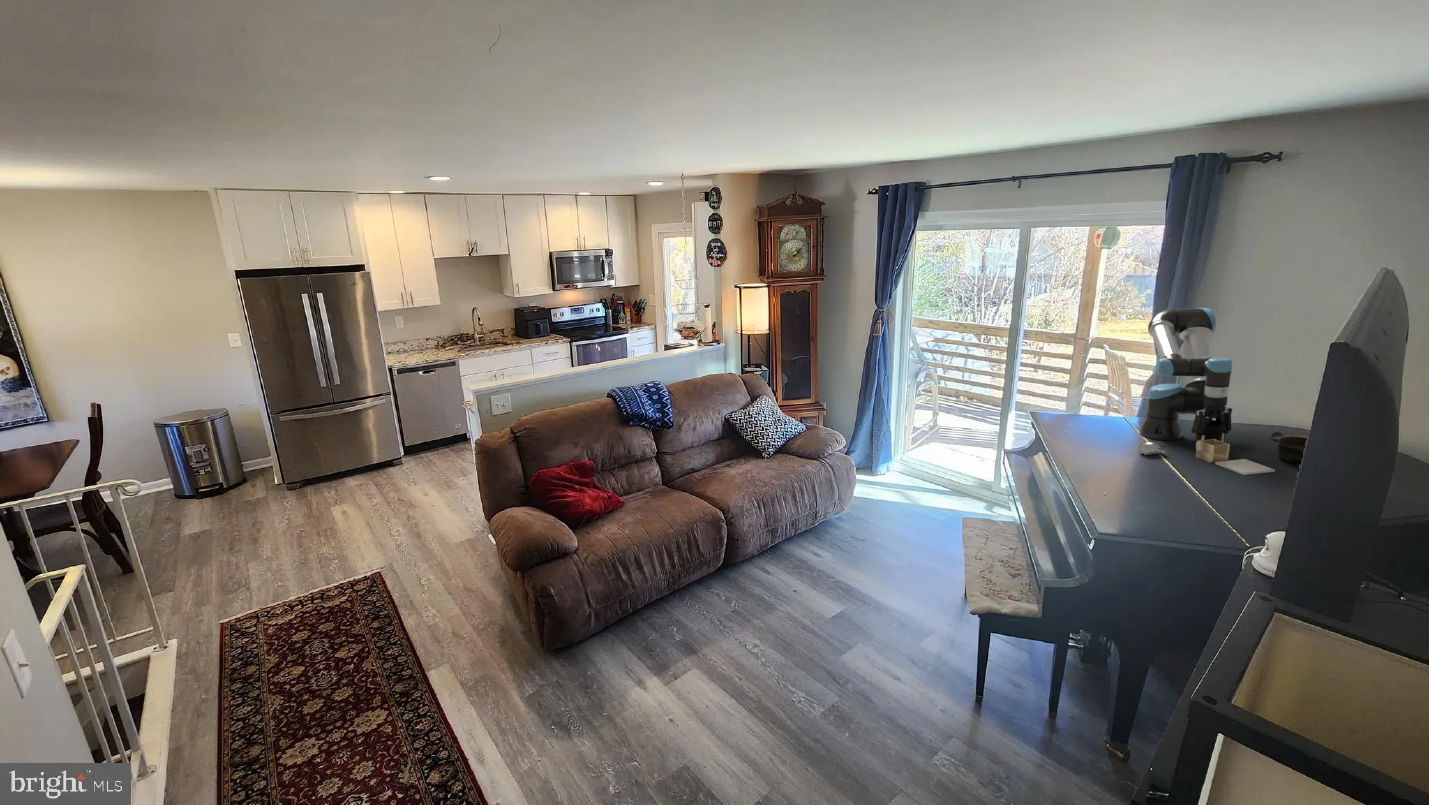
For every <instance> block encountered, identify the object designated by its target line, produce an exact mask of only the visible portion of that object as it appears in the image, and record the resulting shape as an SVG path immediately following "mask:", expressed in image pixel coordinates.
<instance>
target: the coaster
mask: <svg viewBox="0 0 1429 805" xmlns="http://www.w3.org/2000/svg"><path fill="white" fill-rule="evenodd" d="M1214 464H1215V465H1217V466H1219V467H1222V468H1224V469H1226V470H1230V471H1233V472H1235V473H1237V474H1240V475H1242V476H1246V475H1255V474H1265V473H1267V474H1268V473H1275V471H1276V470H1275V469H1273V468H1272V467H1268V466H1267V465H1263V464H1260V463H1257V462H1254V461H1252V460H1250V459H1249V460H1248V459H1246V458H1241V459H1234V460H1233V459H1232V460H1228V461H1221V462H1214Z"/></svg>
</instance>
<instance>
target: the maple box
mask: <svg viewBox="0 0 1429 805" xmlns="http://www.w3.org/2000/svg"><path fill="white" fill-rule="evenodd" d="M1230 447H1231V444H1230V443H1226V442H1224V441H1223V442H1222V441H1219V440H1216V439H1210V440H1200V441H1197V449H1196V448H1195V449H1196V451H1195V457H1196V458H1198V459H1200V460H1202V461H1205V462H1207V463H1211V464H1212V463H1215V462H1221V461H1229V455H1230V454H1229V453H1230Z"/></svg>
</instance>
